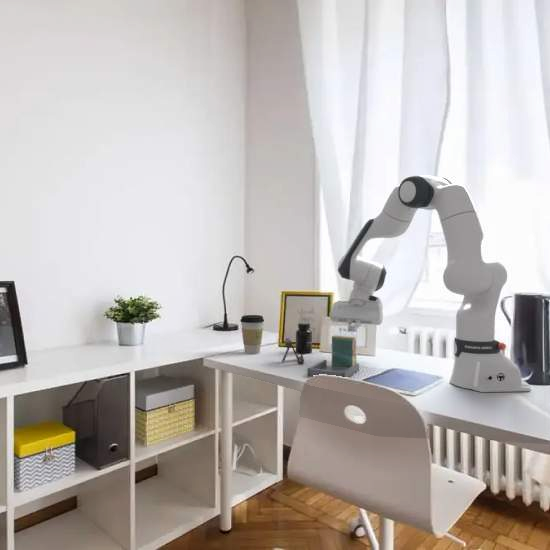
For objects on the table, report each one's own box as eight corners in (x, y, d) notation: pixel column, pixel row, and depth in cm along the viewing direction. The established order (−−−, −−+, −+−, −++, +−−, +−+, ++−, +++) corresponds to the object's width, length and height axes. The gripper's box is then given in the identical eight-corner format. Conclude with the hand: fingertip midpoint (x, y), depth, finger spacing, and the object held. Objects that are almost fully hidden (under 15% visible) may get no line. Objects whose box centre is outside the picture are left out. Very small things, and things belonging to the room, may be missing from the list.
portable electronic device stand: (303, 364, 179) (303, 342, 178) (282, 364, 179) (282, 342, 178) (302, 359, 187) (302, 338, 187) (281, 359, 187) (281, 338, 187)
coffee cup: (268, 353, 198) (268, 316, 198) (247, 356, 193) (246, 318, 193) (257, 349, 207) (257, 314, 206) (236, 351, 202) (236, 315, 201)
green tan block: (335, 365, 178) (335, 335, 178) (356, 367, 174) (356, 336, 174) (331, 367, 175) (331, 336, 174) (352, 369, 171) (353, 338, 171)
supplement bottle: (311, 354, 196) (311, 324, 196) (294, 353, 198) (294, 324, 197) (313, 351, 203) (313, 322, 203) (297, 350, 205) (296, 322, 204)
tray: (359, 370, 169) (359, 363, 169) (344, 380, 156) (344, 373, 156) (324, 366, 175) (324, 359, 175) (307, 376, 162) (307, 368, 162)
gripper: (332, 295, 193) (323, 323, 185) (383, 298, 183) (376, 327, 175) (336, 305, 197) (327, 333, 189) (386, 308, 188) (379, 338, 179)
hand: (351, 330), depth 182 cm, fingers closed
